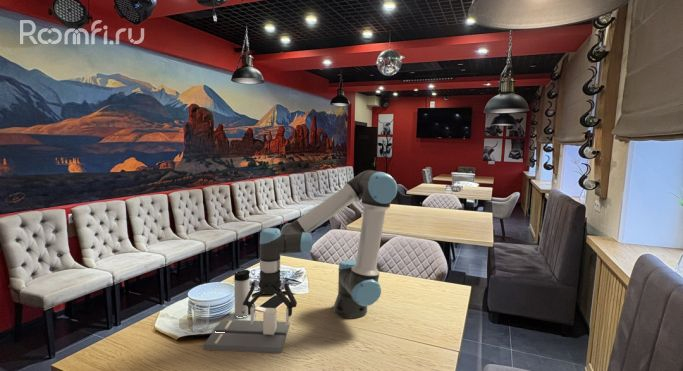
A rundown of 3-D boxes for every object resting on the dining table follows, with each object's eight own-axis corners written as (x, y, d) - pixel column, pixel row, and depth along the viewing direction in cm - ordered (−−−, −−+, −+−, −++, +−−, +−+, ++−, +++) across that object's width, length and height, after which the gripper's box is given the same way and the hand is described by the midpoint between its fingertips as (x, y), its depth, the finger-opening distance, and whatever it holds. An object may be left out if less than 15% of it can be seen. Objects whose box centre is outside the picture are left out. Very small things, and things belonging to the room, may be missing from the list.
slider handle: (276, 332, 136) (276, 308, 135) (273, 339, 131) (273, 314, 130) (266, 332, 136) (266, 307, 135) (263, 339, 131) (263, 314, 130)
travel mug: (246, 319, 147) (245, 274, 145) (232, 317, 148) (231, 272, 146) (252, 312, 153) (252, 269, 151) (239, 310, 154) (238, 267, 152)
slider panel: (289, 326, 142) (289, 321, 142) (280, 352, 124) (280, 347, 124) (222, 324, 143) (222, 319, 143) (203, 349, 125) (203, 344, 125)
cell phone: (254, 310, 156) (254, 308, 156) (276, 295, 172) (276, 293, 172) (270, 314, 152) (270, 312, 152) (291, 298, 169) (291, 296, 169)
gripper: (304, 267, 134) (303, 319, 136) (240, 265, 134) (240, 316, 137) (301, 274, 126) (301, 329, 129) (233, 272, 127) (234, 326, 129)
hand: (270, 323), depth 133 cm, fingers open, 13 cm apart
